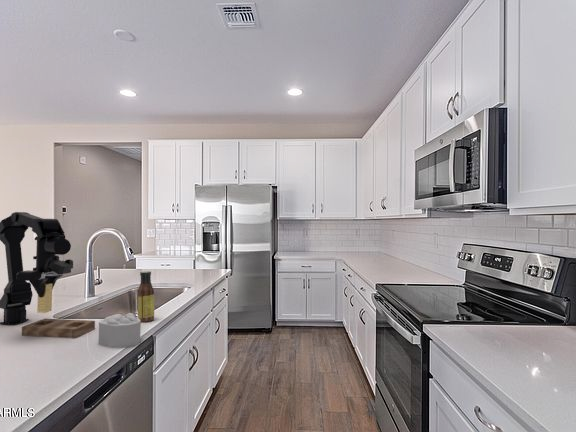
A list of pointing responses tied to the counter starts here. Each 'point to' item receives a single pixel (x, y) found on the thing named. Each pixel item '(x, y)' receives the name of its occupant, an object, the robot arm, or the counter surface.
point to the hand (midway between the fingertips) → (44, 296)
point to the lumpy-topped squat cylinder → (119, 331)
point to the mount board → (58, 328)
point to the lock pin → (45, 299)
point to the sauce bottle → (145, 298)
